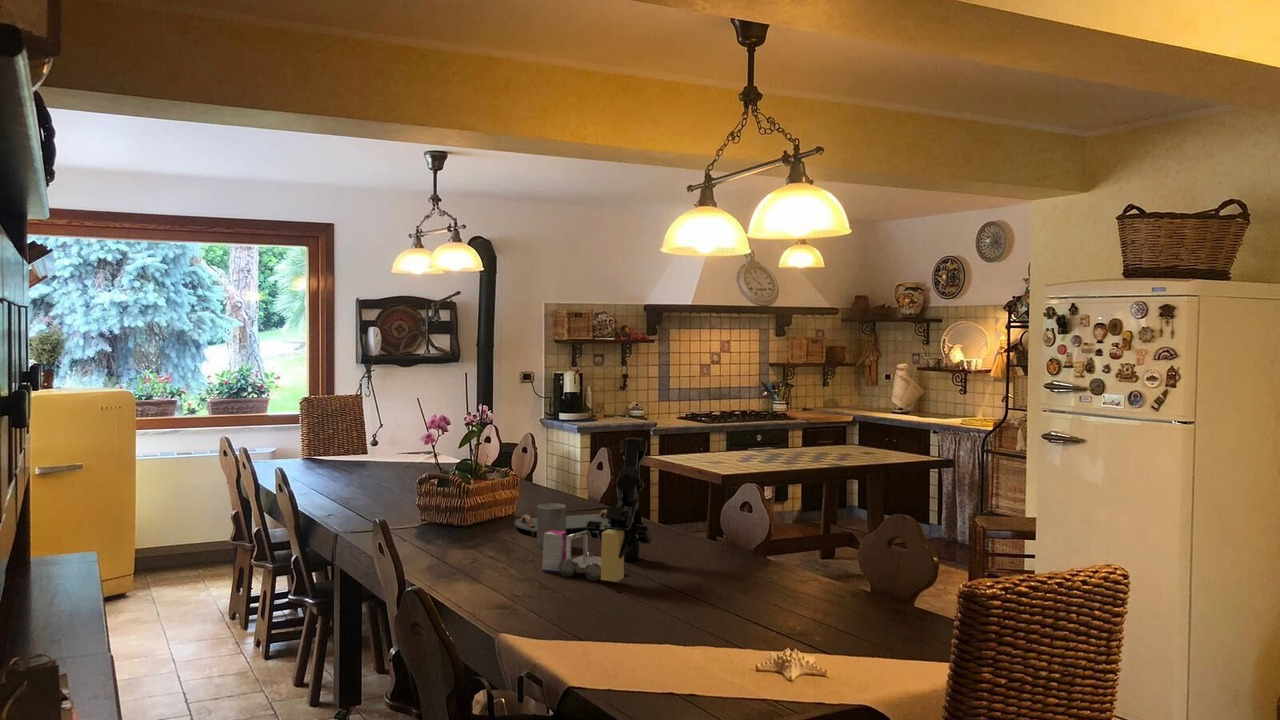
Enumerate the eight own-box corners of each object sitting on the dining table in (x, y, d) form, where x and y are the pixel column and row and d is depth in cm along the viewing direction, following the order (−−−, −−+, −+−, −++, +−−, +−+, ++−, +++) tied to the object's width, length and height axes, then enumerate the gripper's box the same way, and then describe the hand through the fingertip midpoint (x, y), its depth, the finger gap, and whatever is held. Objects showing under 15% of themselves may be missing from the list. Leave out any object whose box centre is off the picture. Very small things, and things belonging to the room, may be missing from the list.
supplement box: (561, 573, 284) (561, 534, 284) (541, 571, 285) (542, 533, 285) (566, 568, 290) (567, 530, 289) (547, 567, 291) (548, 529, 290)
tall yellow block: (607, 575, 275) (608, 529, 275) (623, 577, 274) (624, 530, 273) (600, 579, 271) (601, 532, 270) (617, 581, 269) (618, 534, 268)
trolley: (583, 566, 292) (583, 528, 292) (622, 573, 285) (623, 533, 285) (558, 575, 280) (559, 536, 280) (599, 582, 274) (599, 541, 273)
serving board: (525, 539, 333) (525, 521, 333) (507, 527, 355) (508, 510, 354) (628, 532, 349) (628, 515, 348) (605, 520, 370) (605, 504, 370)
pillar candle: (540, 542, 326) (540, 498, 326) (568, 543, 325) (568, 499, 325) (534, 549, 316) (534, 504, 316) (563, 550, 315) (563, 504, 315)
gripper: (588, 492, 279) (572, 537, 268) (649, 497, 272) (635, 543, 262) (598, 515, 286) (583, 559, 276) (657, 520, 280) (644, 565, 270)
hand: (611, 556), depth 271 cm, fingers closed on tall yellow block, 5 cm apart
